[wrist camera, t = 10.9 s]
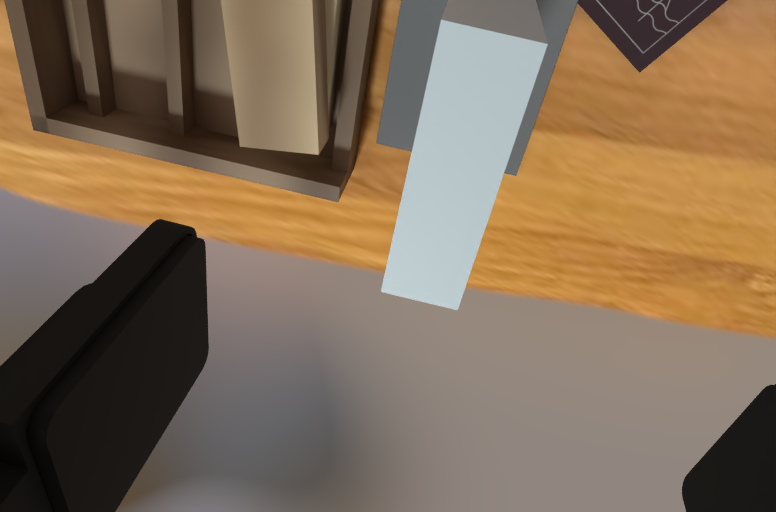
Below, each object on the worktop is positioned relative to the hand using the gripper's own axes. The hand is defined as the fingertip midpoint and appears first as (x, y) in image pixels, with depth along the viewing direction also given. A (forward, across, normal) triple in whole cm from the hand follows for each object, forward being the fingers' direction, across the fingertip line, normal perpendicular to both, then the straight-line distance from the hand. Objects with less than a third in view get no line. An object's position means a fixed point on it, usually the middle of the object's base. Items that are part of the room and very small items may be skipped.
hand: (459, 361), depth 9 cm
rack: (+19, +13, +1) cm, 23 cm away
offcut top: (+16, +8, +2) cm, 18 cm away
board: (+18, +1, 0) cm, 18 cm away
